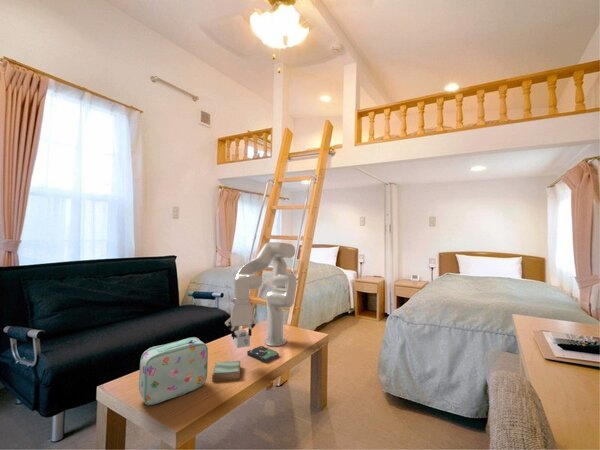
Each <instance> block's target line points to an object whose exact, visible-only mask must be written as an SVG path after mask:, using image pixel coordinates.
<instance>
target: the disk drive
mask: <svg viewBox="0 0 600 450" xmlns="http://www.w3.org/2000/svg"><path fill="white" fill-rule="evenodd" d="M246 351H247V352H246V353H247V354H246V356H248V357H251V358H252V359H255V360H257V361H260V362H262V363H263V364H267V363H268V362H270V361H273V360H275V359H277V358H279V357H280V353H279V352H277V351H275V350H273V349H271V348H268V347H265V346H263V345H260V346H257V347H255V348H252V349H249V350H246Z"/></svg>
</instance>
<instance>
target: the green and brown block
mask: <svg viewBox="0 0 600 450" xmlns="http://www.w3.org/2000/svg"><path fill="white" fill-rule="evenodd" d="M240 375H241V360H231V361H219V362H218V361H217V362H215V363H214V367H213V371H212V374H211V382H222V381H234V380H235V381H236V380H240Z"/></svg>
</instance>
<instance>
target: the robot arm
mask: <svg viewBox="0 0 600 450" xmlns="http://www.w3.org/2000/svg"><path fill="white" fill-rule="evenodd" d="M295 255H296V247H295V246H294V244H292V243H287V242H278V241H277V242H275V241H274V242H266V243H264V245H263V246H262V247H261V249H260V250H259V252H258V254H257V255H256V257H255V258H254V259H251V260H250V261H248V262H247V263H245V264H244V265H243V266H241V267H240V269H239V270H238V272H237V274H236V276H235V277H234V279H233V280H234V281H233V296H234V297H233V298H232V299H230V303H233V304H232V306H231V312H230V317H229V318H228V319H227V320H226V321H225V322H224V325H225V326H227V328H228V329H229V330H230V331H231V334H230V335H231V338H232V340H233V339H234V337H235V331H236V330H235V328H236V327H243V326H244V327H245V326H247V327H248V334H249V335H250V337H251V336H252V330H253V329H254V328H255V326H256V325H257V324H258V323H259V320H258V318H256V317H255V316H253V312H252V311H253V309H252V303H251V302H250V290H257V289H259V288H260V287H261V286H262V285H263V284H262V283H263V278H262V277H261V276H260V275H259V274H256V272H259V271H263V270H265V269H267V268H269V266H270V265H271V262H272V264H273V265H272V273H271V280H270V284H271V285H270V286H271V287H273V288H276V289H271V290H269V291H267V293H266V295H265V302H266V308H267V309H266V311H267V338H266V339H265V340H264V344H265V345H266V346H269V347H281V346H283V345H286V342H287V340H286V338H284V312H283V309H282V308H291V307H293V306H294V304H295V297H296V289H297V277H296V275H295V274H294V273H290V272H287V269H288V265H287V262H286V261H285V259H291V258H293V257H294V256H295ZM254 273H255V274H254ZM277 289H285V290H277Z"/></svg>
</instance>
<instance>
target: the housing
mask: <svg viewBox="0 0 600 450" xmlns="http://www.w3.org/2000/svg"><path fill="white" fill-rule="evenodd" d="M250 340H251V336H250V335H249V332H248V331H247V330H246V329H238V330H235V337H234V339H233V338H232V342H233V343H234V345H235V347H236V348H237V349H239V348H245V347H246V348H247V347H250V346H251V341H250Z"/></svg>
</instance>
